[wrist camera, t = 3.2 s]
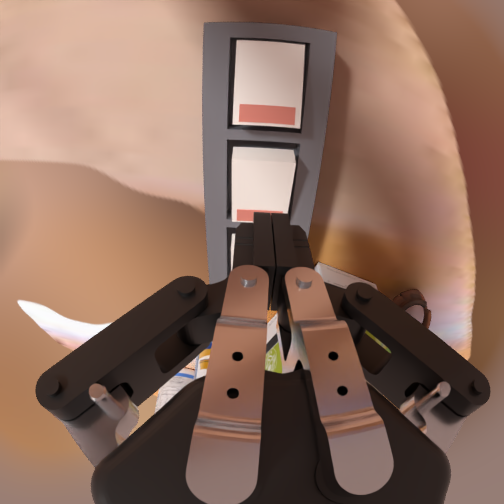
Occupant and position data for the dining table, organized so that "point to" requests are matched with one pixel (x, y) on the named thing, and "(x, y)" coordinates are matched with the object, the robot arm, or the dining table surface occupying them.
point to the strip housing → (259, 127)
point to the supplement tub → (173, 386)
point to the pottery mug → (414, 303)
